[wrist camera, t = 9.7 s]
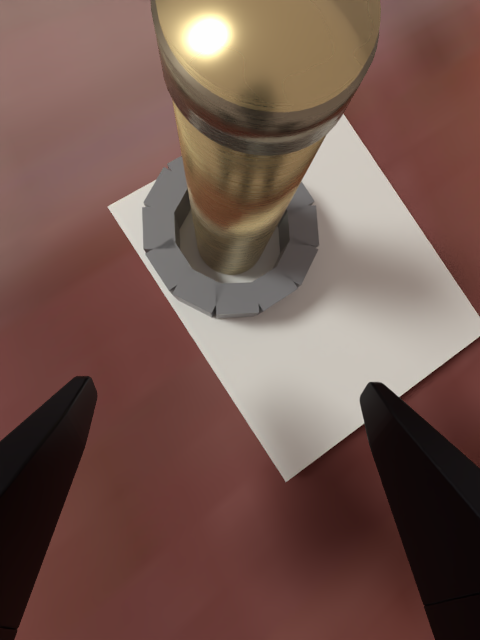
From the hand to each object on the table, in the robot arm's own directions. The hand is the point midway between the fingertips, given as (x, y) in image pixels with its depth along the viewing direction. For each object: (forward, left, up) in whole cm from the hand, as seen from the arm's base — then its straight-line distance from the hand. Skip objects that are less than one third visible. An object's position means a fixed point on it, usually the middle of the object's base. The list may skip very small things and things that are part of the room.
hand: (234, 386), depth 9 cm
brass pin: (+6, -4, -7) cm, 10 cm away
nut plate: (+2, -7, -8) cm, 11 cm away
